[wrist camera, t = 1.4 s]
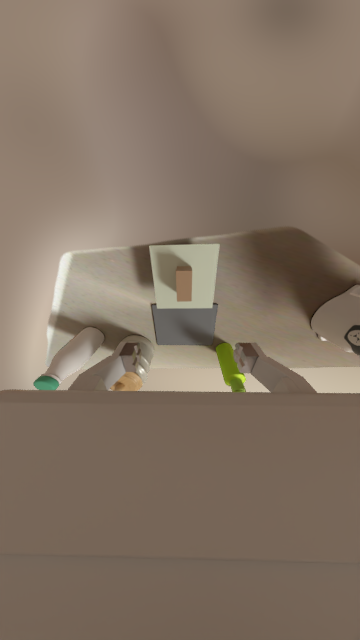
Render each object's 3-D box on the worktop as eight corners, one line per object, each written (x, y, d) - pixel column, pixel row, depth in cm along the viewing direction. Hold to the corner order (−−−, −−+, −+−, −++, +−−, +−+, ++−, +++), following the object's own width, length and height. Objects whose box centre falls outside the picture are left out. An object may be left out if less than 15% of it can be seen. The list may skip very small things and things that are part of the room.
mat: (217, 304, 40) (217, 304, 39) (211, 344, 48) (212, 345, 47) (152, 304, 41) (151, 305, 40) (157, 343, 49) (157, 344, 48)
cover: (218, 243, 26) (226, 244, 21) (211, 306, 34) (216, 318, 29) (150, 245, 27) (142, 246, 22) (157, 306, 34) (152, 318, 29)
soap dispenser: (237, 347, 49) (265, 405, 31) (221, 356, 51) (240, 414, 34) (228, 338, 46) (253, 395, 29) (212, 348, 49) (227, 405, 32)
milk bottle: (90, 322, 45) (32, 372, 28) (109, 336, 48) (67, 389, 31) (79, 333, 47) (19, 385, 30) (97, 346, 50) (52, 400, 33)
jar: (133, 362, 55) (113, 408, 40) (113, 340, 49) (81, 384, 34) (160, 354, 52) (150, 401, 37) (143, 329, 46) (122, 373, 31)
